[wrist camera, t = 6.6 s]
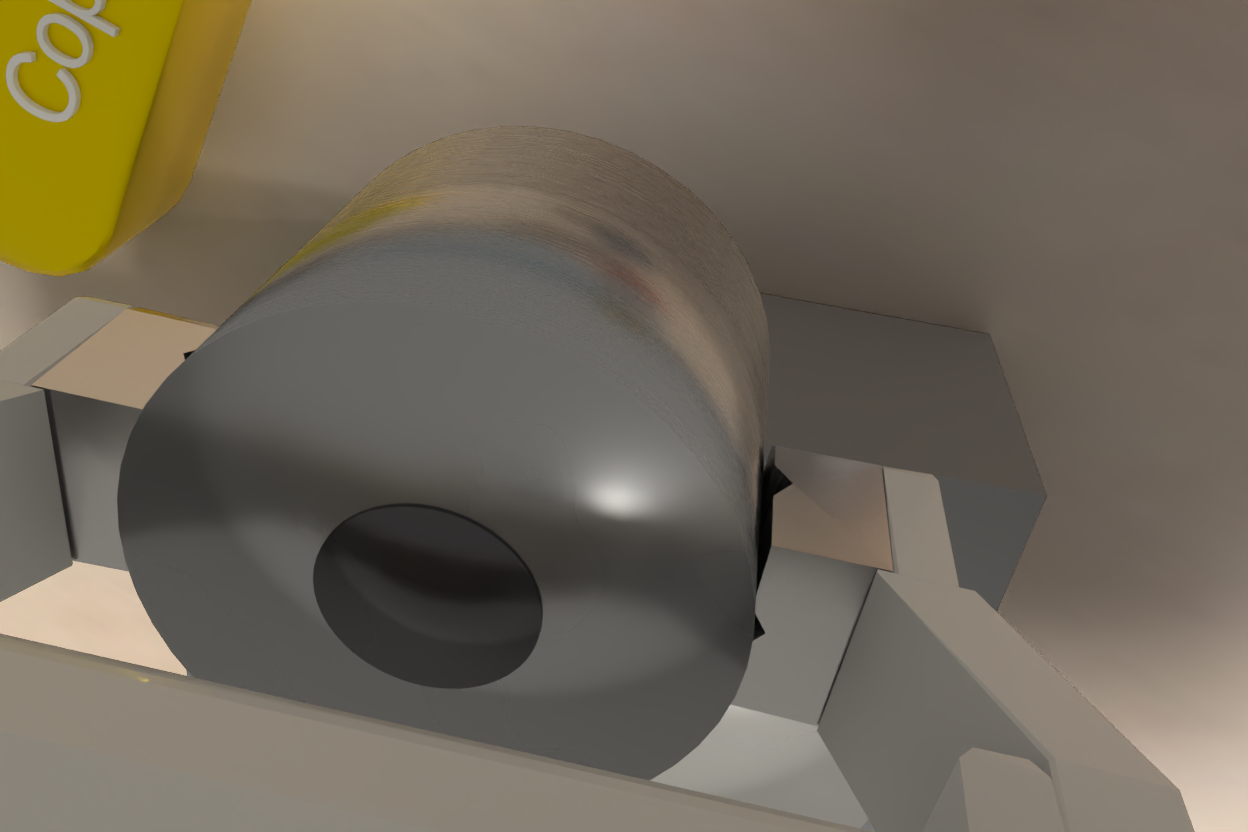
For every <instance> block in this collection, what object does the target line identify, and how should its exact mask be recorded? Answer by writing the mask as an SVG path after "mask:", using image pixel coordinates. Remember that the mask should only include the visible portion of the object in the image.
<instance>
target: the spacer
mask: <svg viewBox="0 0 1248 832" xmlns="http://www.w3.org/2000/svg"><path fill="white" fill-rule="evenodd" d="M769 375H770V340H769V332H768V323H767V318H766V314H765V310H764V306H763V303H762V299H761V295H760V292H759V289H758V287H757V285H756V282H755V280H754V277H753V275H752V273H751V270H750V268H749V266H748V264H747V262H746V260H745V259H744V257H743V255H742V254H741V252H740V250H739V249H738V247H737V245H736V244H735V242H734V240H733V239H732V237H731V236H730V234H729V233H728V232H727V231H726V229H725V228H724V227H723V226H722V224H721V223H720V222H719V221H718V219H717V218H716V217H715V216H714V214H713V213H712V212H711V211H710V210H709V209H708V208H707V207H706V206H705V205H704V204H703V203H702V202H701V201H700V200H699V199H698V198H697V197H695V196H694V195H693V194H692V193H691V192H690V191H689V190H688V189H687V188H686V187H684V186H683V185H682V184H680V183H679V182H678V181H676V180H675V179H674V178H672V177H671V176H670V175H668V174H667V173H665V172H664V171H663V170H661V169H660V168H658V167H656V166H654V165H653V164H651V163H649V162H647V161H646V160H644V159H642V158H640V157H639V156H637V155H635V154H633V153H631V152H629V151H626V150H624V149H622V148H619V147H617V146H614V145H612V144H609V143H607V142H604V141H602V140H599V139H595V138H592V137H588V136H584V135H581V134H577V133H573V132H569V131H564V130H556V129H549V128H541V127H494V128H487V129H480V130H472V131H467V132H464V133H460V134H457V135H453V136H450V137H446V138H443V139H439V140H437V141H435V142H433V143H430V144H428V145H426V146H424V147H421V148H419V149H417V150H415V151H412V152H411V153H409V154H408V155H406V156H405V157H403V158H401V159H400V160H398V161H397V162H395V163H394V164H392V165H391V166H389V167H387V168H386V169H385V170H384V171H383V172H382V173H381V174H380V175H378V176H377V177H376V178H375V179H374V180H373V181H372V182H371V183H369V184H368V185H367V186H366V187H365V188H364V189H363V190H362V191H361V192H360V193H359V194H358V195H357V196H356V197H355V198H353V199H352V200H351V201H350V202H349V203H348V204H347V205H346V206H345V207H344V208H343V209H342V210H341V211H340V212H339V213H338V214H337V215H336V216H335V217H334V218H333V219H332V220H331V221H330V222H328V223H327V224H326V225H325V226H324V227H323V228H322V229H321V230H320V231H319V232H318V233H317V234H316V235H315V236H314V237H313V238H312V239H311V240H310V241H309V242H308V243H307V244H306V245H304V246H303V247H302V248H301V249H300V250H299V251H298V252H297V253H296V254H295V255H294V256H293V257H292V258H291V259H290V260H289V261H288V262H287V263H286V264H285V265H284V266H283V267H282V268H280V269H279V270H278V271H277V272H276V273H275V274H274V275H273V276H272V277H271V278H270V279H269V280H268V281H267V282H266V283H265V284H264V285H263V286H262V287H261V288H260V289H259V290H258V291H257V292H255V293H254V294H253V295H252V296H251V297H250V298H249V299H248V300H247V301H246V302H245V303H244V304H243V305H242V306H241V307H240V308H239V309H238V310H237V311H236V312H235V313H234V314H233V315H231V316H230V317H229V318H228V319H227V320H226V321H225V322H224V323H223V324H222V325H221V326H220V327H219V328H218V329H217V330H216V331H215V332H214V333H213V334H212V335H211V336H210V337H209V338H208V339H206V340H205V341H204V342H203V343H202V344H201V345H200V346H199V347H198V348H197V349H196V350H195V351H194V352H193V353H192V354H191V355H190V356H189V357H188V358H187V359H186V360H185V361H184V362H182V363H181V364H180V365H179V366H178V367H177V368H176V369H175V370H174V371H173V372H172V373H171V374H170V375H169V376H168V377H167V378H166V379H165V380H164V382H163V383H162V384H161V385H160V387H159V388H158V389H157V391H156V392H155V393H154V394H153V396H152V397H151V398H150V399H149V401H148V402H147V403H146V405H145V406H144V408H143V410H142V412H141V414H140V416H139V418H138V420H137V422H136V424H135V426H134V427H133V429H132V431H131V433H130V436H129V439H128V442H127V446H126V449H125V452H124V456H123V459H122V462H121V466H120V475H119V483H118V492H117V508H118V527H119V534H120V538H121V543H122V548H123V552H124V557H125V562H126V565H127V567H128V570H129V573H130V576H131V578H132V581H133V584H134V587H135V589H136V592H137V594H138V596H139V598H140V600H141V602H142V604H143V606H144V608H145V610H146V612H147V614H148V616H149V617H150V619H151V621H152V623H153V625H154V626H155V628H156V629H157V631H158V632H159V634H160V635H161V637H162V638H163V640H164V641H165V643H166V644H167V646H168V647H169V649H170V650H171V652H172V653H173V654H174V655H175V656H176V658H177V659H178V660H179V661H180V662H181V664H182V665H183V666H184V667H185V668H186V670H187V671H188V672H189V673H190V674H191V676H192V677H193V678H198V679H202V680H206V681H211V682H215V683H220V684H224V685H228V686H233V687H237V688H242V689H246V690H251V691H255V692H259V693H264V694H268V695H273V696H277V697H281V698H286V699H290V700H295V701H299V702H304V703H308V704H313V705H317V706H322V707H326V708H330V709H335V710H339V711H344V712H348V713H353V714H357V715H362V716H366V717H371V718H375V719H379V720H384V721H388V722H393V723H397V724H402V725H406V726H411V727H415V728H420V729H424V730H428V731H433V732H437V733H442V734H446V735H451V736H455V737H459V738H464V739H468V740H473V741H477V742H481V743H486V744H490V745H495V746H499V747H504V748H508V749H512V750H517V751H521V752H526V753H530V754H534V755H539V756H543V757H548V758H552V759H556V760H561V761H565V762H570V763H574V764H578V765H583V766H587V767H592V768H596V769H600V770H605V771H609V772H614V773H618V774H623V775H627V776H631V777H636V778H640V779H645V780H649V781H650V780H651V779H653V778H655V777H656V776H658V775H660V774H661V773H663V772H665V771H666V770H668V769H669V768H671V767H673V766H674V765H676V764H677V763H678V762H679V761H681V760H682V759H683V758H684V757H685V756H687V755H688V754H689V753H690V752H692V751H693V750H694V749H695V748H696V747H698V746H699V745H700V744H701V742H702V741H703V740H704V739H705V738H706V737H707V736H708V735H709V733H710V732H711V731H712V730H713V729H714V728H715V727H716V726H717V724H718V723H719V722H720V720H721V719H722V717H723V716H724V714H725V712H726V711H727V709H728V708H729V706H730V704H731V703H732V701H733V700H734V698H735V697H736V694H737V692H738V689H739V687H740V684H741V682H742V679H743V677H744V674H745V672H746V669H747V666H748V661H749V657H750V652H751V647H752V642H753V638H754V624H755V607H756V591H757V574H758V558H759V541H760V524H761V508H762V491H763V475H764V458H765V441H766V425H767V408H768V392H769Z"/></svg>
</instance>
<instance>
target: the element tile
mask: <svg viewBox="0 0 1248 832" xmlns="http://www.w3.org/2000/svg"><path fill="white" fill-rule="evenodd" d="M250 3H251V0H0V260H1V261H3V262H5V263H7V264H10V265H13V266H15V267H18V268H21V269H23V270H26V271H29V272H33V273H39V274H46V275H52V276H58V277H61V276H65V275H69V274H74V273H78V272H82V271H86V270H89V269H90V268H92V267H93V266H95V265H96V264H97V263H99V262H100V261H101V260H103V259H104V258H106V257H107V256H108V255H110V254H111V253H113V252H114V251H115V250H117V249H118V248H119V247H121V246H122V245H124V244H125V243H126V242H128V241H129V240H131V239H132V238H133V237H135V236H136V235H137V234H139V233H140V232H142V231H143V230H144V229H146V228H147V227H149V226H150V225H151V224H153V223H154V222H155V221H157V220H158V219H160V218H161V217H162V216H163V215H165V214H166V213H167V212H168V211H169V210H170V209H171V208H173V207H174V206H175V205H176V204H177V203H178V202H179V201H180V200H181V198H182V196H183V194H184V192H185V191H186V189H187V187H188V185H189V183H190V181H191V178H192V175H193V172H194V169H195V166H196V163H197V160H198V157H199V154H200V151H201V148H202V145H203V142H204V140H205V137H206V134H207V131H208V128H209V125H210V122H211V119H212V116H213V113H214V110H215V107H216V104H217V101H218V98H219V95H220V92H221V89H222V86H223V83H224V80H225V77H226V74H227V71H228V68H229V65H230V62H231V59H232V56H233V53H234V51H235V48H236V45H237V42H238V39H239V36H240V33H241V30H242V27H243V24H244V21H245V18H246V15H247V12H248V9H249V6H250Z"/></svg>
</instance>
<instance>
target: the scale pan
mask: <svg viewBox="0 0 1248 832" xmlns="http://www.w3.org/2000/svg"><path fill="white" fill-rule="evenodd" d="M817 729H818V726H814V725H810V724H806V723H802V722H798V721H794V720H790V719H786V718H782V717H778V716H774V715H770V714H766V713H762V712H758V711H754V710H750V709H746V708H742V707H738V706H734V705H730V706H729V708H728V709H727V711H726V712H725V714H724V716H723V717H722V719H721V720H720V722H719V723H718V724H717V726H716V727H715V728H714V729H713V730H712V731H711V732H710V733H709V735H708V736H707V737H706V738H705V739H704V740H703V741H702V742H701V744H700V745H699V746H698V747H696V748H695V749H694V750H693V751H692V752H690V753H689V754H688V755H687V756H685V757H684V758H683V759H682V760H681V761H679V762H678V763H677V764H676V765H674V766H673V767H671V768H669V769H668V770H666V771H665V772H663V773H661V774H660V775H658V776H656V777H655V778H653V779H651V780H650V781H653V782H658V783H662V784H667V785H671V786H675V787H680V788H684V789H689V790H693V791H697V792H702V793H706V794H711V795H715V796H719V797H724V798H728V799H733V800H737V801H741V802H746V803H750V804H755V805H759V806H764V807H768V808H772V809H777V810H781V811H786V812H790V813H794V814H799V815H803V816H808V817H812V818H816V819H821V820H825V821H830V822H834V823H838V824H843V825H847V826H852V827H856V828H860V829H861V828H862V827H863V825H864V824H865V823H866V821H867V820H868V817H867V816H866V814H865V812H864V810H863V809H862V807H861V805H860V804H859V802H858V800H857V798H856V797H855V795H854V793H853V792H852V790H851V788H850V786H849V785H848V783H847V781H846V780H845V778H844V776H843V774H842V773H841V771H840V769H839V768H838V766H837V764H836V762H835V761H834V759H833V757H832V756H831V754H830V752H829V750H828V749H827V747H826V745H825V744H824V742H823V740H822V738H821V737H820V735H819V733H818V732H817Z"/></svg>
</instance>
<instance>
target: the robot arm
mask: <svg viewBox="0 0 1248 832" xmlns="http://www.w3.org/2000/svg"><path fill="white" fill-rule="evenodd" d="M219 327H220V326H217V325H213V324H208V323H204V322H200V321H195V320H191V319H187V318H183V317H178V316H174V315H170V314H165V313H161V312H157V311H152V310H148V309H144V308H136V307H134V306H133V305H128V304H123V303H118V302H113V301H108V300H103V299H98V298H93V297H75V298H74V299H72V300H71V301H69V302H68V303H67V304H65V305H64V306H62V307H61V308H60V309H58V310H57V311H55V312H54V313H53V314H51V315H50V316H48V317H47V318H46V319H44V320H43V321H41V322H40V323H39V324H37V325H36V326H34V327H33V328H32V329H30V330H29V331H28V332H26V333H25V334H23V335H22V336H21V337H19V338H18V339H16V340H15V341H14V342H12V343H11V344H9V345H8V346H7V347H5V348H4V349H2V350H1V351H0V602H1V601H3V600H5V599H7V598H9V597H11V596H13V595H15V594H17V593H19V592H21V591H23V590H25V589H27V588H28V587H30V586H32V585H34V584H36V583H38V582H40V581H42V580H44V579H46V578H48V577H50V576H52V575H54V574H56V573H58V572H60V571H62V570H64V569H66V568H68V567H70V566H72V564H73V563H72V560H73V561H78V562H83V563H89V564H94V565H99V566H104V567H109V568H114V569H119V570H125V571H129V570H128V567H127V565H126V562H125V557H124V552H123V548H122V543H121V538H120V534H119V527H118V508H117V492H118V483H119V475H120V466H121V462H122V459H123V456H124V452H125V449H126V446H127V442H128V439H129V436H130V433H131V431H132V429H133V427H134V426H135V424H136V422H137V420H138V418H139V416H140V414H141V412H142V410H143V408H144V406H145V405H146V403H147V402H148V401H149V399H150V398H151V397H152V396H153V394H154V393H155V392H156V391H157V389H158V388H159V387H160V385H161V384H162V383H163V382H164V380H165V379H166V378H167V377H168V376H169V375H170V374H171V373H172V372H173V371H174V370H175V369H176V368H177V367H178V366H179V365H180V364H181V363H182V362H184V361H185V360H186V359H187V358H188V357H189V356H190V355H191V354H192V353H193V352H194V351H195V350H196V349H197V348H198V347H199V346H200V345H201V344H202V343H203V342H204V341H205V340H206V339H208V338H209V337H210V336H211V335H212V334H213V333H214V332H215V331H216V330H217V329H218V328H219ZM730 705H734V706H738V707H742V708H746V709H750V710H754V711H758V712H762V713H766V714H770V715H774V716H778V717H782V718H786V719H790V720H794V721H798V722H802V723H806V724H810V725H814V726H818V729H817V732H818V733H819V735H820V737H821V738H822V740H823V742H824V744H825V745H826V747H827V749H828V750H829V752H830V754H831V756H832V757H833V759H834V761H835V762H836V764H837V766H838V768H839V769H840V771H841V773H842V774H843V776H844V778H845V780H846V781H847V783H848V785H849V786H850V788H851V790H852V792H853V793H854V795H855V797H856V798H857V800H858V802H859V804H860V805H861V807H862V809H863V810H864V812H865V814H866V816H867V817H868V819H869V821H870V822H871V824H872V826H873V828H874V829H875V831H876V832H1195V831H1194V829H1193V826H1192V823H1191V820H1190V818H1189V815H1188V812H1187V809H1186V807H1185V804H1184V801H1183V798H1182V796H1181V793H1180V790H1179V789H1178V788H1177V787H1176V786H1175V785H1174V784H1173V783H1172V782H1171V781H1170V780H1169V779H1168V778H1167V777H1166V776H1165V775H1164V774H1162V773H1161V772H1160V771H1159V770H1158V769H1157V768H1156V767H1155V766H1154V765H1153V764H1152V763H1151V762H1150V761H1149V760H1148V759H1147V758H1146V757H1145V756H1144V755H1143V754H1142V753H1141V752H1140V751H1139V750H1138V749H1137V748H1136V747H1135V746H1134V745H1133V744H1132V743H1131V742H1130V741H1129V740H1128V739H1127V738H1126V737H1125V736H1123V735H1122V734H1121V733H1120V732H1119V731H1118V730H1117V729H1116V728H1115V727H1114V726H1113V725H1112V724H1111V723H1110V722H1109V721H1108V720H1107V719H1106V718H1105V717H1104V716H1103V715H1102V714H1101V713H1100V712H1099V711H1098V710H1097V709H1096V708H1095V707H1094V706H1093V705H1092V704H1091V703H1090V702H1089V701H1088V700H1087V699H1086V698H1085V697H1083V696H1082V695H1081V694H1080V693H1079V692H1078V691H1077V690H1076V689H1075V688H1074V687H1073V686H1072V685H1071V684H1070V683H1069V682H1068V681H1067V680H1066V679H1065V678H1064V677H1063V676H1062V675H1061V674H1060V673H1059V672H1058V671H1057V670H1056V669H1055V668H1054V667H1053V666H1052V665H1051V664H1050V663H1049V662H1048V661H1047V660H1046V659H1044V658H1043V657H1042V656H1041V655H1040V654H1039V653H1038V652H1037V651H1036V650H1035V649H1034V648H1033V647H1032V646H1031V645H1030V644H1029V643H1028V642H1027V641H1026V640H1025V639H1024V638H1023V637H1022V636H1021V635H1020V634H1019V633H1018V632H1017V631H1016V630H1015V629H1014V628H1013V627H1012V626H1011V625H1010V624H1009V623H1008V622H1007V621H1006V620H1004V619H1003V618H1002V617H1001V616H1000V615H999V614H998V613H997V612H996V611H995V610H994V609H993V608H992V607H991V606H990V605H989V604H988V603H987V602H986V601H985V600H984V599H983V598H982V597H981V596H980V595H979V594H978V593H977V592H976V591H973V590H969V589H964V588H960V587H959V584H958V579H957V573H956V568H955V563H954V558H953V553H952V548H951V543H950V538H949V533H948V527H947V522H946V517H945V512H944V507H943V502H942V497H941V492H940V487H939V481H938V480H937V479H936V478H935V477H934V476H933V475H932V474H926V473H920V472H915V471H909V470H903V469H897V468H892V467H886V466H880V465H874V464H869V463H863V462H858V461H852V460H847V459H842V458H836V457H831V456H826V455H820V454H815V453H810V452H804V451H799V450H794V449H788V448H783V447H778V446H772V447H771V450H770V453H769V456H768V458H767V461H766V465H765V468H764V475H763V491H762V508H761V524H760V541H759V558H758V574H757V591H756V607H755V624H754V638H753V642H752V647H751V652H750V657H749V661H748V666H747V669H746V672H745V674H744V677H743V679H742V682H741V684H740V687H739V689H738V692H737V694H736V697H735V698H734V700H733V701H732V703H731V704H730ZM0 832H874V831H869V830H865V829H860V828H856V827H852V826H847V825H843V824H838V823H834V822H830V821H825V820H821V819H816V818H812V817H808V816H803V815H799V814H794V813H790V812H786V811H781V810H777V809H772V808H768V807H764V806H759V805H755V804H750V803H746V802H741V801H737V800H733V799H728V798H724V797H719V796H715V795H711V794H706V793H702V792H697V791H693V790H689V789H684V788H680V787H675V786H671V785H667V784H662V783H658V782H653V781H649V780H645V779H640V778H636V777H631V776H627V775H623V774H618V773H614V772H609V771H605V770H600V769H596V768H592V767H587V766H583V765H578V764H574V763H570V762H565V761H561V760H556V759H552V758H548V757H543V756H539V755H534V754H530V753H526V752H521V751H517V750H512V749H508V748H504V747H499V746H495V745H490V744H486V743H481V742H477V741H473V740H468V739H464V738H459V737H455V736H451V735H446V734H442V733H437V732H433V731H428V730H424V729H420V728H415V727H411V726H406V725H402V724H397V723H393V722H388V721H384V720H379V719H375V718H371V717H366V716H362V715H357V714H353V713H348V712H344V711H339V710H335V709H330V708H326V707H322V706H317V705H313V704H308V703H304V702H299V701H295V700H290V699H286V698H281V697H277V696H273V695H268V694H264V693H259V692H255V691H251V690H246V689H242V688H237V687H233V686H228V685H224V684H220V683H215V682H211V681H206V680H202V679H198V678H193V677H189V676H184V675H180V674H176V673H171V672H167V671H162V670H158V669H154V668H149V667H145V666H140V665H136V664H131V663H127V662H123V661H118V660H114V659H109V658H105V657H101V656H96V655H92V654H87V653H83V652H79V651H74V650H70V649H65V648H61V647H57V646H52V645H48V644H43V643H39V642H34V641H30V640H26V639H21V638H17V637H12V636H8V635H4V634H0Z"/></svg>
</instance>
